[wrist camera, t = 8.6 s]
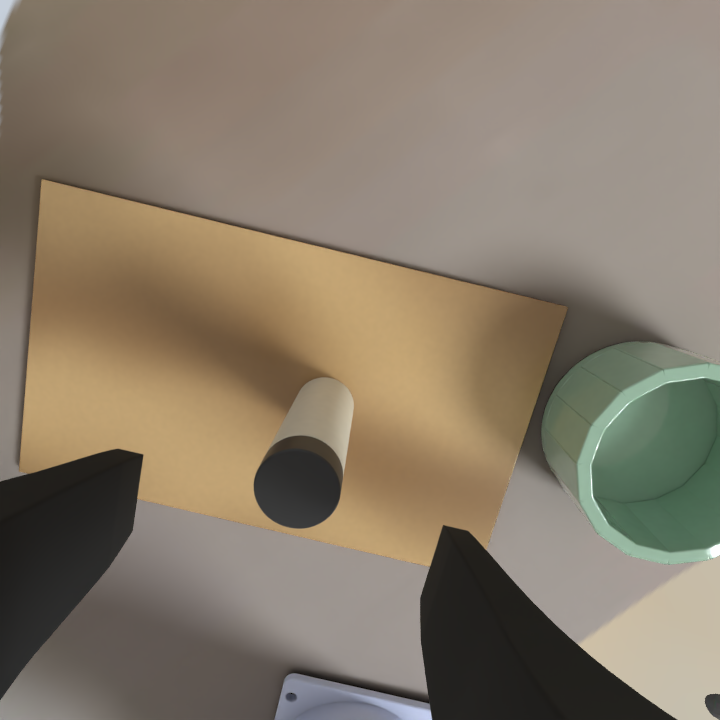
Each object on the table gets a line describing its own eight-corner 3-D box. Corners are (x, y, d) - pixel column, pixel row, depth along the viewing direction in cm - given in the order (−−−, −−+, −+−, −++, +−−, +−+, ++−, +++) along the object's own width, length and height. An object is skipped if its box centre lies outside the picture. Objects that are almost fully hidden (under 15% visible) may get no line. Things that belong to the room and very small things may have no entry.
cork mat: (475, 573, 22) (477, 578, 21) (23, 468, 21) (18, 471, 21) (565, 306, 19) (568, 307, 18) (46, 180, 18) (41, 179, 18)
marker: (346, 437, 20) (329, 538, 13) (291, 424, 20) (245, 518, 13) (360, 384, 19) (349, 461, 13) (302, 370, 19) (261, 440, 13)
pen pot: (680, 523, 21) (746, 583, 17) (518, 484, 20) (549, 537, 17) (750, 364, 19) (839, 394, 15) (574, 321, 19) (621, 341, 15)
